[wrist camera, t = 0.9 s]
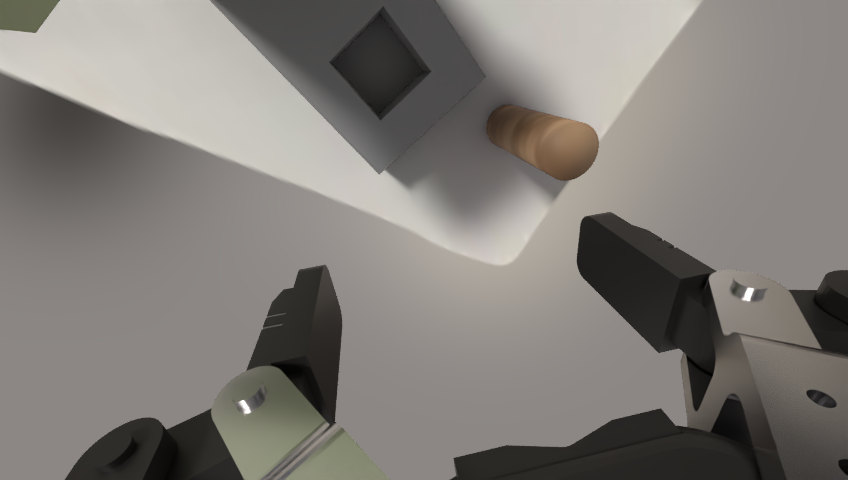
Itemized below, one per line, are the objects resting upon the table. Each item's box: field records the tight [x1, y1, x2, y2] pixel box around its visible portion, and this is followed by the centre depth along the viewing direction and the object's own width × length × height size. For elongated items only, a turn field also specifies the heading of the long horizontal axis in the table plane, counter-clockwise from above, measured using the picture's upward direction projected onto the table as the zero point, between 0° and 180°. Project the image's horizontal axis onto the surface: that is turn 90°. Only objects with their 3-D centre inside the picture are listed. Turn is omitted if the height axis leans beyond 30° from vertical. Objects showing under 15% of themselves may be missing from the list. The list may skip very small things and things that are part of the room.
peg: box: [487, 105, 599, 181], centre depth 29 cm, size 4×4×12 cm
